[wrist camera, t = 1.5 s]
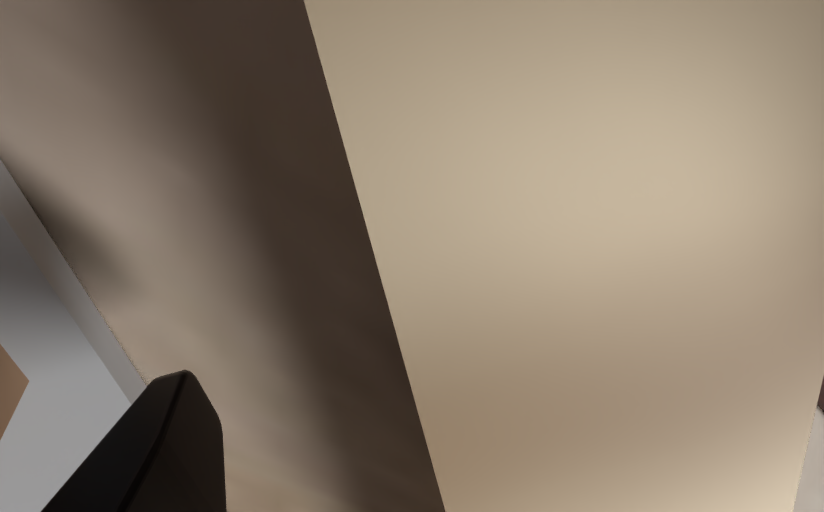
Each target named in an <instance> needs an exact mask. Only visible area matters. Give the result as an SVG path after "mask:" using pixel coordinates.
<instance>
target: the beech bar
mask: <svg viewBox="0 0 824 512" xmlns="http://www.w3.org/2000/svg"><path fill="white" fill-rule="evenodd" d="M304 3H305V7H306V10H307V14H308V18H309V21H310V25H311V28H312V32H313V36H314V39H315V43H316V46H317V50H318V54H319V57H320V61H321V64H322V68H323V72H324V75H325V79H326V82H327V86H328V90H329V93H330V97H331V100H332V104H333V108H334V111H335V115H336V119H337V122H338V126H339V129H340V133H341V137H342V140H343V144H344V147H345V151H346V155H347V158H348V162H349V165H350V169H351V173H352V176H353V180H354V183H355V187H356V191H357V194H358V198H359V201H360V205H361V209H362V212H363V216H364V219H365V223H366V227H367V230H368V234H369V238H370V241H371V245H372V248H373V252H374V256H375V259H376V263H377V266H378V270H379V274H380V277H381V281H382V284H383V288H384V292H385V295H386V299H387V302H388V306H389V310H390V313H391V317H392V320H393V324H394V328H395V331H396V335H397V339H398V342H399V346H400V349H401V353H402V357H403V360H404V364H405V367H406V371H407V375H408V378H409V382H410V385H411V389H412V393H413V396H414V400H415V403H416V407H417V411H418V414H419V418H420V421H421V425H422V429H423V432H424V436H425V439H426V443H427V447H428V450H429V454H430V458H431V461H432V465H433V468H434V472H435V476H436V479H437V483H438V486H439V490H440V494H441V497H442V501H443V504H444V508H445V512H793V508H794V503H795V499H796V495H797V490H798V486H799V481H800V477H801V473H802V468H803V464H804V460H805V455H806V451H807V446H808V442H809V438H810V433H811V429H812V424H813V420H814V416H815V411H816V407H817V402H818V398H819V394H820V389H821V385H822V381H823V376H824V0H304Z"/></svg>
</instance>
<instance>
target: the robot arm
mask: <svg viewBox="0 0 824 512" xmlns="http://www.w3.org/2000/svg"><path fill="white" fill-rule="evenodd" d="M41 512H227V510H226V490H225V470H224V450H223V433H222V426H221V423H220V419H219V417H218V415H217V413H216V411H215V409H214V407H213V406H212V404H211V402H210V400H209V399H208V397H207V395H206V393H205V392H204V390H203V388H202V387H201V385H200V383H199V381H198V380H197V378H196V376H195V375H194V374H193V373H192V372H190V371H187V370H182V371H178V372H175V373H171V374H167V375H164V376H160V377H158V378H155V379H154V380H153V381H152V382H151V383H150V384H149V385H148V386H147V387H146V388H145V389H144V391H143V392H142V393H141V394H140V395H139V397H138V398H137V399H136V400H135V401H134V402H133V404H132V405H131V406H130V407H129V408H128V409H127V411H126V412H125V413H124V414H123V415H122V416H121V418H120V419H119V420H118V421H117V422H116V424H115V425H114V426H113V427H112V428H111V429H110V431H109V432H108V433H107V434H106V435H105V436H104V438H103V439H102V440H101V441H100V442H99V443H98V445H97V446H96V447H95V448H94V449H93V451H92V452H91V453H90V454H89V455H88V456H87V458H86V459H85V460H84V461H83V462H82V463H81V465H80V466H79V467H78V468H77V469H76V471H75V472H74V473H73V474H72V475H71V476H70V478H69V479H68V480H67V481H66V482H65V483H64V485H63V486H62V487H61V488H60V489H59V490H58V492H57V493H56V494H55V495H54V496H53V498H52V499H51V500H50V501H49V502H48V503H47V505H46V506H45V507H44V508H43V509H42V510H41Z"/></svg>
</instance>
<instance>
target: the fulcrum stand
mask: <svg viewBox="0 0 824 512" xmlns="http://www.w3.org/2000/svg"><path fill="white" fill-rule="evenodd" d="M146 387H147V386H146V385H145V383H144V382H143V380H142V379H141V377H140V375H139V374H138V372H137V371H136V369H135V368H134V366H133V365H132V363H131V361H130V360H129V358H128V357H127V355H126V354H125V352H124V351H123V349H122V347H121V346H120V344H119V343H118V341H117V340H116V338H115V337H114V335H113V333H112V332H111V330H110V329H109V327H108V326H107V324H106V323H105V321H104V319H103V318H102V316H101V315H100V313H99V312H98V310H97V309H96V307H95V305H94V304H93V302H92V301H91V299H90V298H89V296H88V295H87V293H86V291H85V290H84V288H83V287H82V285H81V284H80V282H79V281H78V279H77V277H76V276H75V274H74V273H73V271H72V270H71V268H70V267H69V265H68V263H67V262H66V260H65V259H64V257H63V256H62V254H61V253H60V251H59V249H58V248H57V246H56V245H55V243H54V242H53V240H52V239H51V237H50V235H49V234H48V232H47V231H46V229H45V228H44V226H43V225H42V223H41V221H40V220H39V218H38V217H37V215H36V214H35V212H34V211H33V209H32V207H31V206H30V204H29V203H28V201H27V200H26V198H25V197H24V195H23V193H22V192H21V190H20V189H19V187H18V186H17V184H16V183H15V181H14V179H13V178H12V176H11V175H10V173H9V172H8V170H7V169H6V167H5V165H4V164H3V162H2V161H1V159H0V512H41V510H42V509H43V508H44V507H45V506H46V505H47V503H48V502H49V501H50V500H51V499H52V498H53V496H54V495H55V494H56V493H57V492H58V490H59V489H60V488H61V487H62V486H63V485H64V483H65V482H66V481H67V480H68V479H69V478H70V476H71V475H72V474H73V473H74V472H75V471H76V469H77V468H78V467H79V466H80V465H81V463H82V462H83V461H84V460H85V459H86V458H87V456H88V455H89V454H90V453H91V452H92V451H93V449H94V448H95V447H96V446H97V445H98V443H99V442H100V441H101V440H102V439H103V438H104V436H105V435H106V434H107V433H108V432H109V431H110V429H111V428H112V427H113V426H114V425H115V424H116V422H117V421H118V420H119V419H120V418H121V416H122V415H123V414H124V413H125V412H126V411H127V409H128V408H129V407H130V406H131V405H132V404H133V402H134V401H135V400H136V399H137V398H138V397H139V395H140V394H141V393H142V392H143V391H144V389H145V388H146Z"/></svg>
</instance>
